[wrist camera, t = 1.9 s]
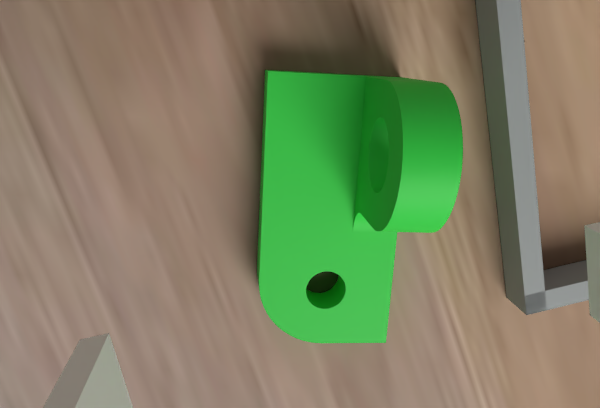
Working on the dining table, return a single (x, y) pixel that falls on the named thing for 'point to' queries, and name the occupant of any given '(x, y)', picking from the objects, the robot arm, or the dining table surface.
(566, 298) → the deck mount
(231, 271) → the dining table surface
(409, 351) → the dining table surface
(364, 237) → the mechanical part
